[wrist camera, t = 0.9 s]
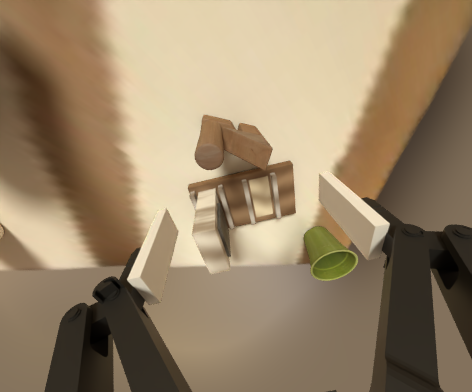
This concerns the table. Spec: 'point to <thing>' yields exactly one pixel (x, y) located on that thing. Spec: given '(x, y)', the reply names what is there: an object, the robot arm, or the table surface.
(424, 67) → the table surface
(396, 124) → the table surface
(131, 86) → the table surface
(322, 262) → the plant pot
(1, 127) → the table surface
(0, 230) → the fruit juice
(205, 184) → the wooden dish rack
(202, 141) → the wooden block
